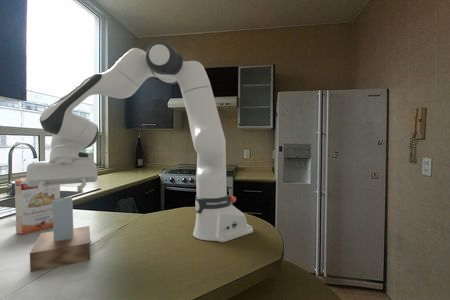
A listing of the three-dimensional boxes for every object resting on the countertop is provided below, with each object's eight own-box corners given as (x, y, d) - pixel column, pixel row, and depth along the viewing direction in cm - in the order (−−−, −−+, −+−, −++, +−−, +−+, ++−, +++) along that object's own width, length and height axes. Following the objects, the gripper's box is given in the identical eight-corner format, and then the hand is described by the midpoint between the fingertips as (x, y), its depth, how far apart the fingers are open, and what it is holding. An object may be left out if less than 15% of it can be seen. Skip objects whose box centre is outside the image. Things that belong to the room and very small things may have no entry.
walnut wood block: (89, 239, 90) (89, 225, 90) (89, 259, 74) (89, 242, 74) (41, 248, 83) (41, 233, 83) (30, 272, 68) (29, 253, 67)
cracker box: (22, 235, 96) (20, 180, 96) (15, 232, 99) (13, 179, 99) (61, 225, 108) (60, 176, 108) (54, 223, 111) (53, 175, 111)
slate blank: (73, 233, 82) (72, 196, 82) (72, 238, 78) (71, 199, 77) (55, 236, 80) (54, 198, 79) (53, 241, 75) (52, 201, 75)
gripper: (26, 156, 83) (20, 190, 74) (96, 153, 92) (98, 184, 84) (29, 168, 87) (24, 202, 78) (96, 165, 96) (98, 195, 88)
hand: (63, 193), depth 81 cm, fingers open, 8 cm apart
